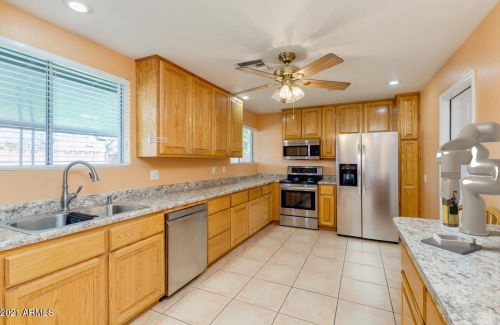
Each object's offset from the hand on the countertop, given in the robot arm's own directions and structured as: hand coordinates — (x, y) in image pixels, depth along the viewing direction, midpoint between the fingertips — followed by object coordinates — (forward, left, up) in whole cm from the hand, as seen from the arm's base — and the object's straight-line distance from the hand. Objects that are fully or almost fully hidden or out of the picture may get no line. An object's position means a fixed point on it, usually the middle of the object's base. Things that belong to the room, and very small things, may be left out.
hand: (450, 212), depth 115 cm
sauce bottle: (0, 0, -7) cm, 7 cm away
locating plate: (0, 0, -16) cm, 16 cm away
